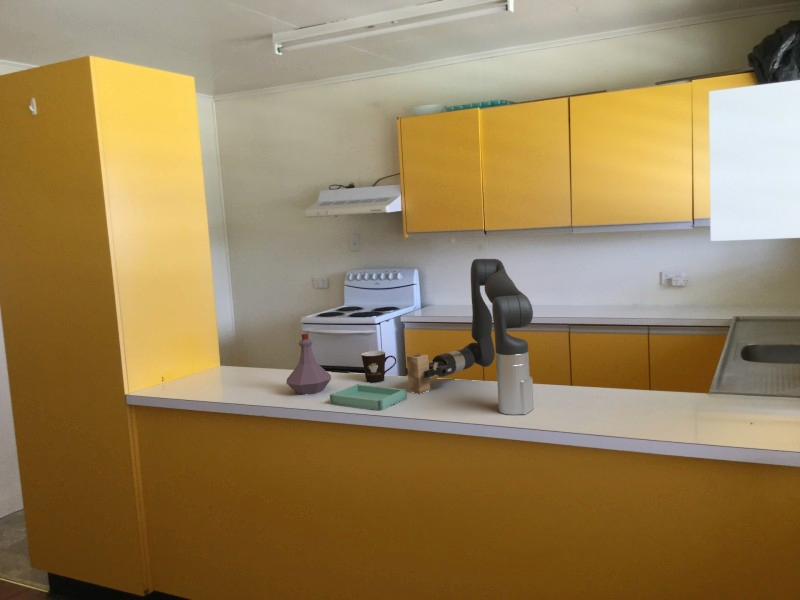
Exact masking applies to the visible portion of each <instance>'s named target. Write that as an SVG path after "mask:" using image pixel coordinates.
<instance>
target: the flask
mask: <svg viewBox="0 0 800 600" xmlns="http://www.w3.org/2000/svg"><path fill="white" fill-rule="evenodd" d="M301 338H302V339H301V340H299V342H298V345H299V346H300V349H301V350H300V357H299V361H298V363H297V365H296V366H295V368H294V369H293V371H292V372H291V373H290V375H288V377H287V378H286V384H287V386H289V387H290V389H292V390H293V391H294V392H295V393H296V394H297V393H298V394H297V395H303V394H304V395H303V396H305V394H308V395H316V394H319V393H321V391H322V392H323V391H324V390H325V389H326V387H327V386H328V384H329V383H330V382H331V380H332V376H331V374H330V373H329V372H328V371H326V370H325V369H324V367H322V366H321V365H320V364H319V363H318V362H317V361H316V359H315V358H316V357H315V356H314V353H313V350H312V344H313V340H312V339H310V338H309V333H301Z"/></svg>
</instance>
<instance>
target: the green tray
mask: <svg viewBox="0 0 800 600" xmlns="http://www.w3.org/2000/svg"><path fill="white" fill-rule="evenodd" d="M407 391H408V390H407V389H406V388H405V389H404V388H394V387H385V386H377V385H367V384H356V383H355V384H354V385H352V386H348V387H347V388H344V389H341V390H338V391H336V392H334V393H331V394H329V401H330V402H329V403H330V405H335V406H345V407H351V408H358V409H364V408H367V409H366V410H371V409H375V410H374V411H379V410H382V411H383V409H384V410H386V409H388V408H390V407H392V406H394V405H393V404H395V403H397V404H399V403H401V402H403V401H405V400H407V399H408V395H407ZM406 398H407V399H406ZM404 399H405V400H404ZM402 400H403V401H402ZM400 401H401V402H400ZM398 402H399V403H398ZM391 405H392V406H391ZM395 405H396V404H395ZM389 406H390V407H389ZM387 407H388V408H387ZM385 408H386V409H385Z"/></svg>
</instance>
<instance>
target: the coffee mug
mask: <svg viewBox="0 0 800 600" xmlns="http://www.w3.org/2000/svg"><path fill="white" fill-rule="evenodd" d="M360 355H361V361H362V366H363V371H364V375H365V380H366V382H367V383H368V382H370V383H369V384H378V383H382V382H384V381H385V374H386V373H387V372H388V371H390V370H391V369H392V368H394V367H395V365H396V364H397V357H395V356H394V355H388V356H386V351H384V350H371V351H365V352H362V353H361V354H360ZM388 358H392V359H394V363H393V364H392V365H391V366H390V367H388V368H387V369H385V368H386V367H385V366H386V362H387V360H388ZM377 382H378V383H377Z"/></svg>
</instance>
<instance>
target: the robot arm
mask: <svg viewBox="0 0 800 600" xmlns="http://www.w3.org/2000/svg"><path fill="white" fill-rule="evenodd" d="M481 286H482V287H484V293H485V295H486V297H487V299H488V300H489V302H490V304H492V305H491V306H492V307H491V308H492V309H491V311H492V313H491V311H490V309H489V307H488V306H487V304H486V302H485V300H484V299H483V296H482V293H481ZM470 292H471V308H472V309H471V310H472V319H471V320H472V321H471V337H472V339H473V340H474V341H475V342H470V343H469V344H467V345H465V346H464V347H463V348H462V349H459V350H453V351H452V350H451V351H449V352H444V353H440V354H437V355H435V356H434V357H433V359H432V360H431V361H430V360H429V370H426V371H424V378H428V377H437V376H438V377H439V378H440V377H443V378H444V377H447V376H450V375H452V374H457V373H459V372H461V371H463V370H468V369H469V368H471V367H473V366H474V364H476V365H478V366H481V367H484V368H487V367H490V366H491V365H492V364H493V362H494V360H495V367H496V382H497V384H496V385H497V399H498V400H497V401H498V404H497V405H498V411H499V413H501V414H504V415H513V416H515V415H527V414H528V413H530V412H531V411H533V410H534V409H535V406H534V404H535V403H534V385H533V383H534V382H533V377H532V376H530V359H529V356H530V355H529V343H528V341H526V340H525V339H522V338H518V337H515V336H512V335H511V334H508V332H507V330H508V329H519V328H520V329H521V328H525V327H526V328H527V327H528V326H529V325H531V323H532V321H533V319H534V318H533V317H534V310H533V307H532V303H531V301H530V299H529V297H527V296H526V294H524V293H523V292H522V291H521V290H519V289H518V288H517V286H516V284H515V283H514V281H513V280H512V279H511V278H510V276H509V275H508V273H507V271H506V268H505V266H504V264H503V262H502V261H501V260H500V259H497V258H475V259H473V260H472V262H471V266H470ZM493 330H494V342H493V338H492V331H493ZM494 344H495V346H494ZM405 375H407V376H408V368H407V367H406V368H405Z"/></svg>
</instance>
